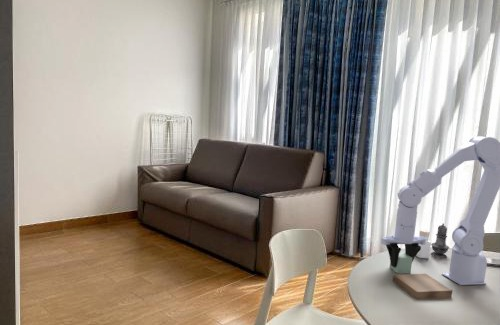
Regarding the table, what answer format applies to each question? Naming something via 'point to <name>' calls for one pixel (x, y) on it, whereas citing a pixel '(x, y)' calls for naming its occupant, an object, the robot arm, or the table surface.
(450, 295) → the walnut base
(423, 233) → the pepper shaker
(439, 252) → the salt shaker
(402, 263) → the sage block
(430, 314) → the table surface
